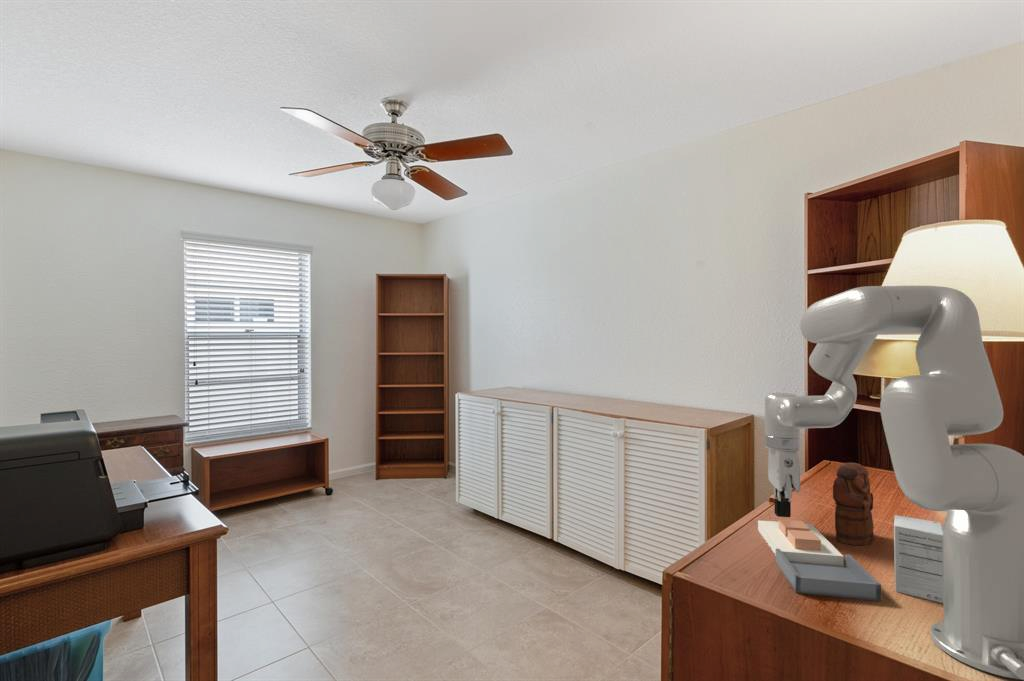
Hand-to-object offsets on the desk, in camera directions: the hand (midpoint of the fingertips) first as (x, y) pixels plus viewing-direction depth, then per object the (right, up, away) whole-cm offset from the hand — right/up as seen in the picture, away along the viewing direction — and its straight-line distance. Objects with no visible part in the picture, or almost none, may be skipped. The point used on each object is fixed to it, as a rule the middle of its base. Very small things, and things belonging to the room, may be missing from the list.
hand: (782, 515), depth 121 cm
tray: (-6, -4, -25) cm, 26 cm away
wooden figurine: (+14, -4, -6) cm, 16 cm away
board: (-2, -4, -10) cm, 11 cm away
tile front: (-3, -1, -14) cm, 15 cm away
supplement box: (+10, -4, -29) cm, 31 cm away
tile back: (-2, -1, -8) cm, 8 cm away
